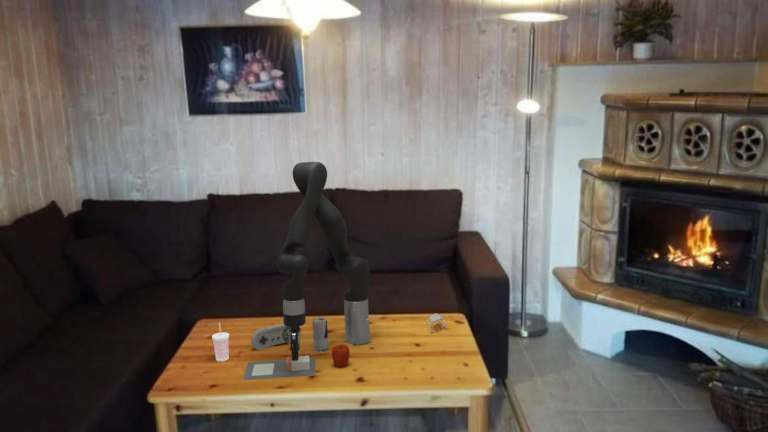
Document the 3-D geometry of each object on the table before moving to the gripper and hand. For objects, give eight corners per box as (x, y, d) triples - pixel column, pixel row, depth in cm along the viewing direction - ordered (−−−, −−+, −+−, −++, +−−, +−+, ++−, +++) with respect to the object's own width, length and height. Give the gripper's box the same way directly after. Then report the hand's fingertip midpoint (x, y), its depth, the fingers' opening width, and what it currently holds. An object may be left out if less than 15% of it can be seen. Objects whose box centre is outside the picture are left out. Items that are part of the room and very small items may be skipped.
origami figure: (448, 333, 243) (448, 321, 242) (427, 334, 243) (427, 322, 242) (445, 322, 255) (445, 311, 254) (425, 323, 255) (424, 311, 254)
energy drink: (330, 348, 231) (329, 318, 229) (324, 353, 226) (323, 323, 224) (317, 346, 233) (316, 316, 231) (311, 352, 228) (310, 321, 226)
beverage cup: (215, 363, 220) (212, 326, 218) (212, 357, 226) (209, 321, 223) (232, 359, 223) (230, 323, 221) (228, 353, 229) (226, 318, 226)
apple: (343, 371, 212) (342, 351, 210) (328, 367, 215) (327, 347, 213) (353, 364, 217) (352, 344, 215) (339, 361, 220) (338, 341, 219)
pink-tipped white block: (309, 363, 217) (309, 355, 217) (309, 369, 212) (309, 361, 212) (286, 365, 216) (286, 357, 216) (286, 371, 212) (285, 363, 211)
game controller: (253, 353, 229) (252, 332, 227) (251, 351, 231) (250, 330, 229) (301, 341, 239) (300, 320, 238) (298, 339, 241) (297, 319, 240)
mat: (315, 359, 222) (315, 357, 222) (315, 376, 208) (315, 374, 208) (248, 363, 220) (248, 362, 219) (243, 381, 206) (243, 379, 206)
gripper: (304, 317, 204) (306, 363, 207) (305, 303, 218) (307, 346, 221) (281, 318, 203) (283, 364, 206) (284, 304, 217) (286, 347, 220)
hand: (295, 355), depth 213 cm, fingers open, 8 cm apart
